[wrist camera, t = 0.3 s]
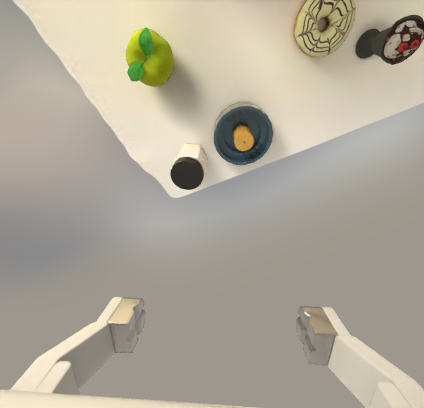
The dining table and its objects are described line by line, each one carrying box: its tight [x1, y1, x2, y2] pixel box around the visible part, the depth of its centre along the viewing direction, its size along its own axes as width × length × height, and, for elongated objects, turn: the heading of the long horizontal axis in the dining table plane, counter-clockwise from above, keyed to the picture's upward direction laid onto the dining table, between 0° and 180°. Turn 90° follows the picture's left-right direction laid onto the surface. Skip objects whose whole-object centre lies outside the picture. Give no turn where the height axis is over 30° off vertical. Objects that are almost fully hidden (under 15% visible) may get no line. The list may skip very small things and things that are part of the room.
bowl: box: [214, 103, 273, 165], centre depth 53 cm, size 15×15×5 cm
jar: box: [171, 143, 207, 190], centre depth 54 cm, size 9×8×12 cm
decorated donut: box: [294, 0, 355, 57], centre depth 40 cm, size 10×11×4 cm
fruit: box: [126, 28, 173, 87], centre depth 42 cm, size 9×9×10 cm
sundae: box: [356, 15, 424, 65], centre depth 37 cm, size 7×7×15 cm
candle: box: [233, 124, 254, 151], centre depth 51 cm, size 5×5×8 cm
